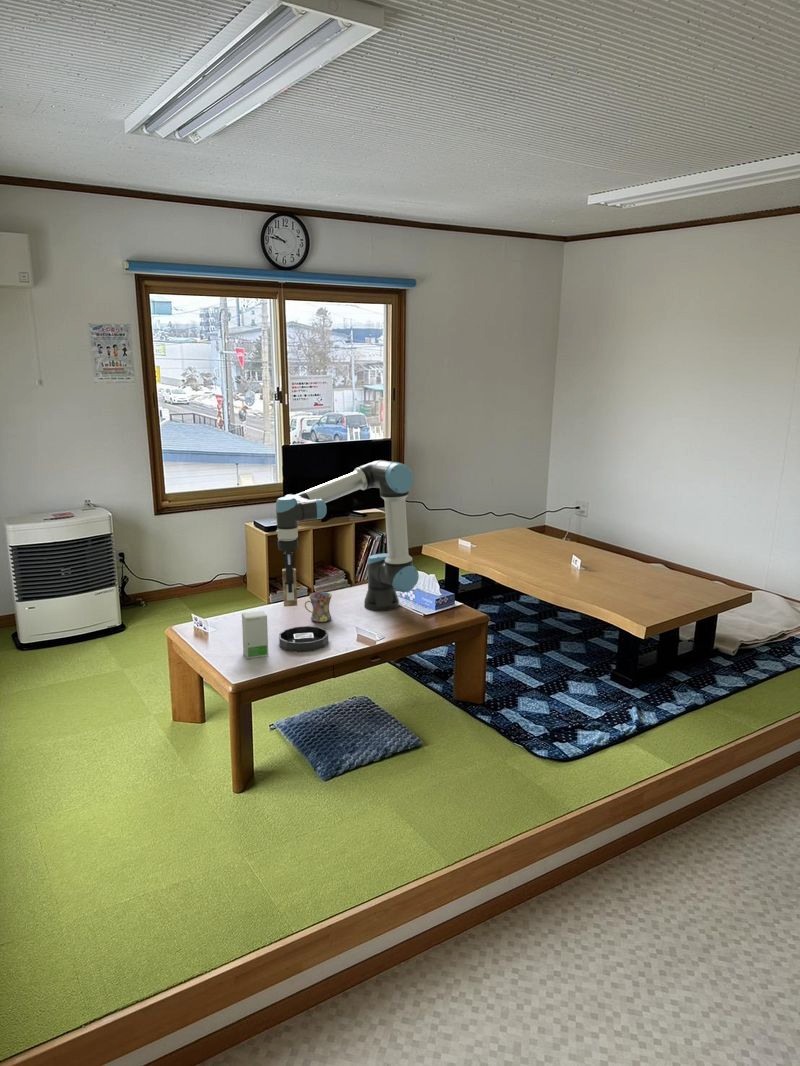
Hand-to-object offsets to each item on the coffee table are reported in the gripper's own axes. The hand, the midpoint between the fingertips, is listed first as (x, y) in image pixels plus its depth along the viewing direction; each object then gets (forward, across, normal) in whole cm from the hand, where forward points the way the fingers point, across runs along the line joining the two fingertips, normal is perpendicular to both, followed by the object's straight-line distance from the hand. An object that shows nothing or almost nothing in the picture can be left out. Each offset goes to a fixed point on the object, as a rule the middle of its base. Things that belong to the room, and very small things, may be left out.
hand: (290, 598), depth 285 cm
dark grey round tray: (+16, +5, +4) cm, 18 cm away
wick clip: (+16, +5, +4) cm, 18 cm away
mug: (+17, -20, +11) cm, 28 cm away
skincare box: (+17, +13, -14) cm, 25 cm away
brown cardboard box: (+3, 0, 0) cm, 3 cm away
